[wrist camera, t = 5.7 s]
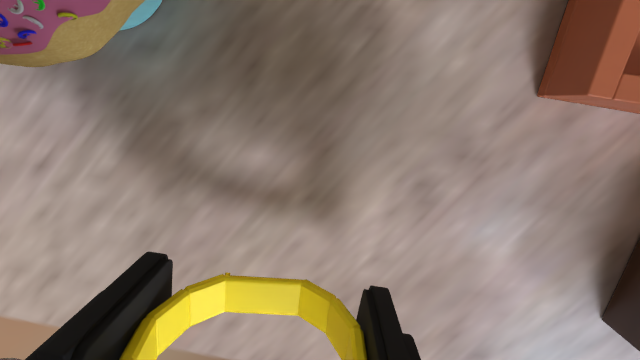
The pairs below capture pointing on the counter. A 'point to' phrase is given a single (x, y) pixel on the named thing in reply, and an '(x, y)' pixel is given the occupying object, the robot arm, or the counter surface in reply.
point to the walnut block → (627, 302)
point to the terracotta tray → (596, 56)
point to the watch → (246, 298)
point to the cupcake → (64, 28)
